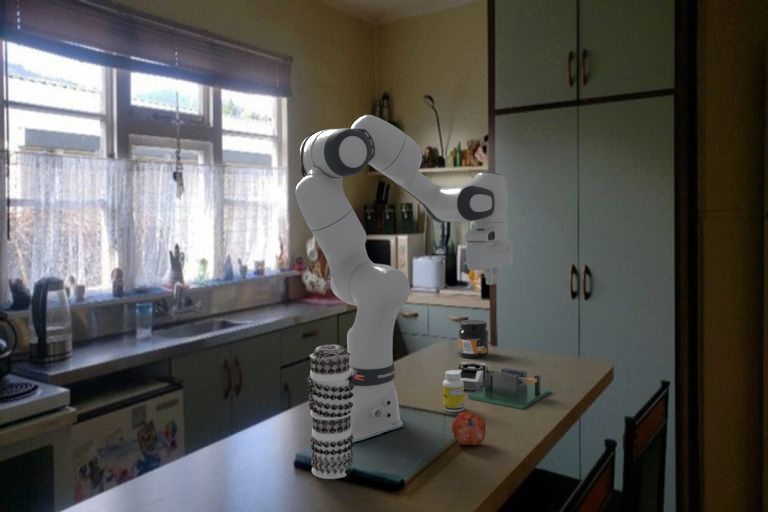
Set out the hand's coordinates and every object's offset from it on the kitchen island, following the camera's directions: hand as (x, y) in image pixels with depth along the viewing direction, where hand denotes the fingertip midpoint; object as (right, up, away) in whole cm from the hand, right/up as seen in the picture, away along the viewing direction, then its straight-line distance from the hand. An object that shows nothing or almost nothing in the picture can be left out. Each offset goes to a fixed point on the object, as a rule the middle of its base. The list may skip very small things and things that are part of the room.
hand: (491, 284), depth 168 cm
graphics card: (-3, -31, +20) cm, 37 cm away
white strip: (+6, -27, +3) cm, 28 cm away
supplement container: (+2, -28, +50) cm, 57 cm away
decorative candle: (-39, -35, -44) cm, 69 cm away
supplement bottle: (-11, -32, -8) cm, 35 cm away
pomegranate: (-10, -34, -31) cm, 47 cm away
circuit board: (+6, -31, +3) cm, 32 cm away
